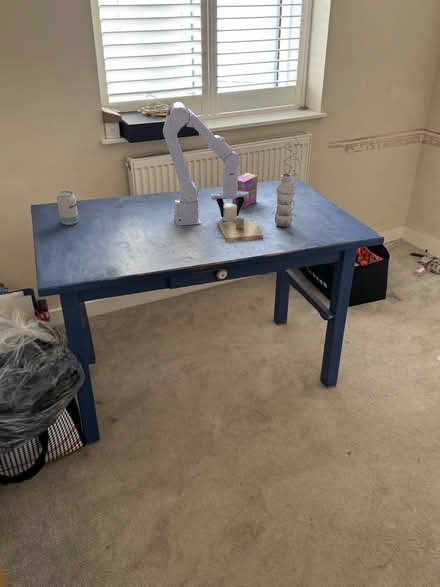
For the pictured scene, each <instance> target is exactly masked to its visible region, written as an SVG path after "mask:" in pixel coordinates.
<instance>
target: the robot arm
mask: <svg viewBox="0 0 440 587" xmlns="http://www.w3.org/2000/svg"><path fill="white" fill-rule="evenodd" d="M163 124H164V125H163V128H162V133H163V137H164V140H165V143H166V146H167V149H168V152H169V154H170V157H171V160H172V161H171V162H172V163H173V166H174V169H175V173H176V176H177V178H178V180H179V190H180V193H181V195H180V197H179V198H178V199H175V200H174V201H173V209H174V211H173V212H174V215H173V216H174V220H175V224H176V226H189V225H201V224H202V222H201V220H200V217H199V216H200V215H199V214H200V213H199V192H198V189H197V186H196V183H195V181H193V179H192V177H191V175H190V172H189V169H188V165H187V163H186V162H187V161H186V160H185V157H184V153H183V150H182V147H181V144H180V141H179V138H178V133H179V132H180V130H181V129H182V128H183V127H185V125H186V127H187V128H188V127H189V128H193V129H195V130H196V131H197V132H198V133H199V135H201V137H202V138H204V139H205V140H206V141H207V142H208V144H207V147H208V149H209V150H211V152H212V153H213V154H214V155H216V157H217V158H218V159H219V160H221V162H223V166H222V167H223V170H222V191H221V192H217V193H211V194H210V195H211V196H210V198H211V201H216V202H217V203H216V204H217V205H218V208H219V213H220V216H221V218H222V217H224V212H223V209H224V204H225V202H224V200H227V199H228V200H232V199H235V198H236V206H237V217H239V214H240V211H241V209H242V208H241V207H242V205H243V203H244V198H248V197H249V193H248V192H239V191H237V188H238V177H239V171H238V170H239V165H240V164H241V161H240V158H239V155H238V154H237V152H236V151H235V150H234V148H233V147H232V146H230V145H229V144H228V143H227V142H226V139H225V137H223V136H220V135H214V133H213V132H212V131H211V130H210V129H209V128H208V127H207V125H205V124H204V122H203V121H202V120H201V119H200V117H199V116H197V115H196V114H195V112H193V111H192V110H191V109H190V108H187V107H186V105H185V103H183V102H181V101H177V102H173V103H172V104H171V105H170V106H169V108H168V110H167V111H166V116H165V121H164V123H163Z"/></svg>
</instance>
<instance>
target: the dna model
mask: <svg viewBox="0 0 440 587" xmlns="http://www.w3.org/2000/svg"><path fill="white" fill-rule="evenodd" d="M292 138H293V139H294V140H295V141H296V142H297V143H294V144H292V142H294V141H293V140H290V141H288V142H286V143H285V144H284V148H285V149H286V151H288V152H290V155H289V156H287V157H285V158H284V159H283V161H282V162H283V164H285V165H286V166H287V167H288V168H289V171H287V172H285V173H284V174H289V173H291V172H292V171H293V172H294V175H295V179H294V180H293V181H291V183H292V185H293V187H294V194H293V198H292V207H291V212H292V211H293V210H294V209H295V205H296V204H295V201H294V197H295V195H296V192H297V189H296V185H295V183H296V182H297V180H298V176H299V174H298V173H297V170H295V169H297V167H298V165H299V162H300V160H299V157H298V155H297V153H298V152H299V151H300V149H301V143H300V141H299V140H298V139H297V138H296V137H295V136H292ZM290 143H291V144H290ZM292 145H294V146H298V148H297V150H296V151H294V152H293V151H292V150H291V149H289V148H288V146H292ZM291 157H294V158H296V165H294V166H293V167H292V165H290V164H289V163H287V161H291V159H290V158H291Z"/></svg>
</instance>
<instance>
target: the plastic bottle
mask: <svg viewBox="0 0 440 587" xmlns="http://www.w3.org/2000/svg"><path fill="white" fill-rule="evenodd" d="M292 178H293V174H289V173H288V174H285V173H283V174H281V178H280V182H279V183H278V185H277V187H276V200H277V203H276V205H277V206H276V211H275V215H274V223H275V225H276V226H278V227H281V228H286V227H290V226H291V224H292V221H293V217H292V216H293V214H292V211H291V209H292V206H293V201H292V199H294V197H293V195H294V192H295V190H294V187H293V185H292V183H291V182H293V181H292V180H293V179H292Z"/></svg>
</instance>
